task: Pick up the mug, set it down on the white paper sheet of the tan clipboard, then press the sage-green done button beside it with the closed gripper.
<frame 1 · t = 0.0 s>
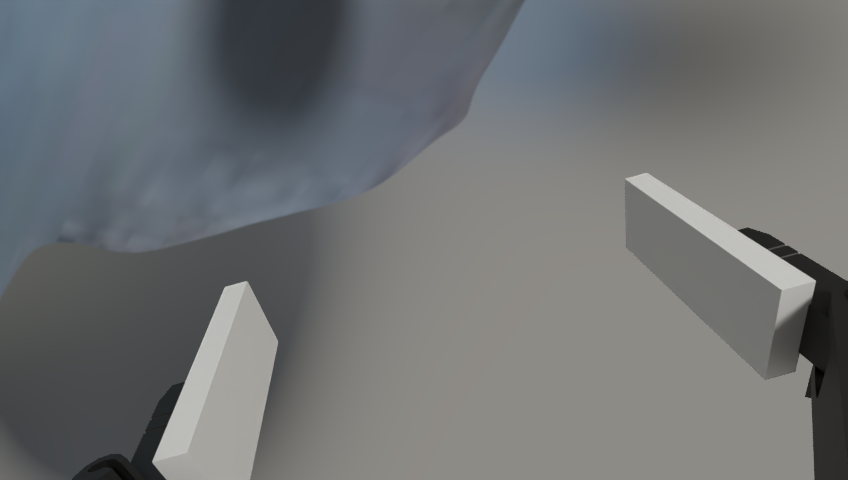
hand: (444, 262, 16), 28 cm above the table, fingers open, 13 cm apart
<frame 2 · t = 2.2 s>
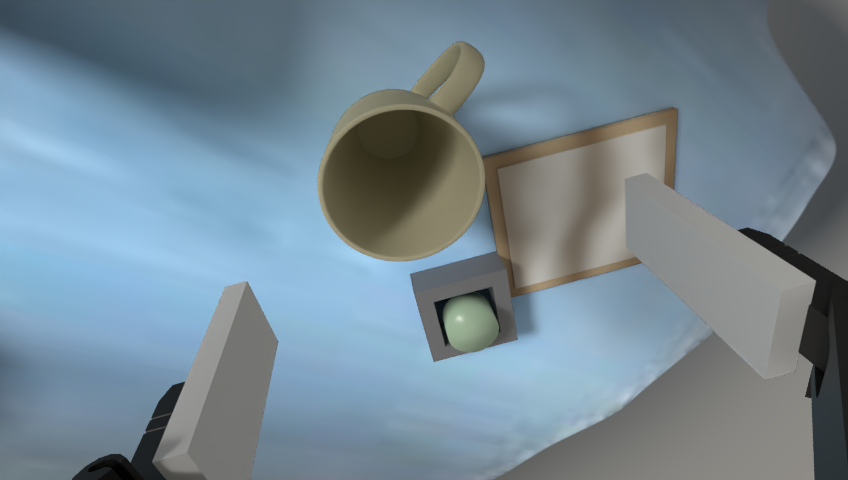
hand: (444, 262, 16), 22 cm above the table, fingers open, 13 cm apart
button housing: (461, 297, 44), on the table
done button: (469, 321, 41), point 4 cm above the table, slide at 0.0 cm
mug: (392, 114, 35), on the table
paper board: (581, 208, 41), on the table
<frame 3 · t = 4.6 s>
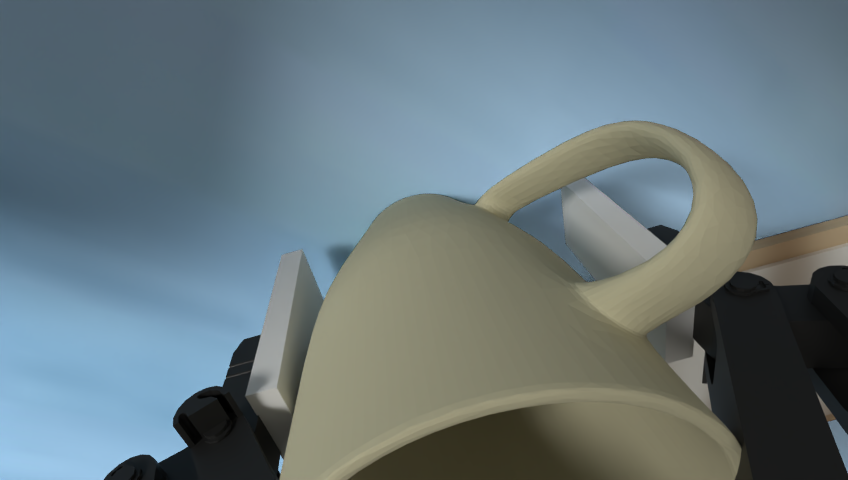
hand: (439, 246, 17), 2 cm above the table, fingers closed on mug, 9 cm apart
mug: (432, 223, 19), on the table, touching gripper
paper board: (742, 352, 25), on the table
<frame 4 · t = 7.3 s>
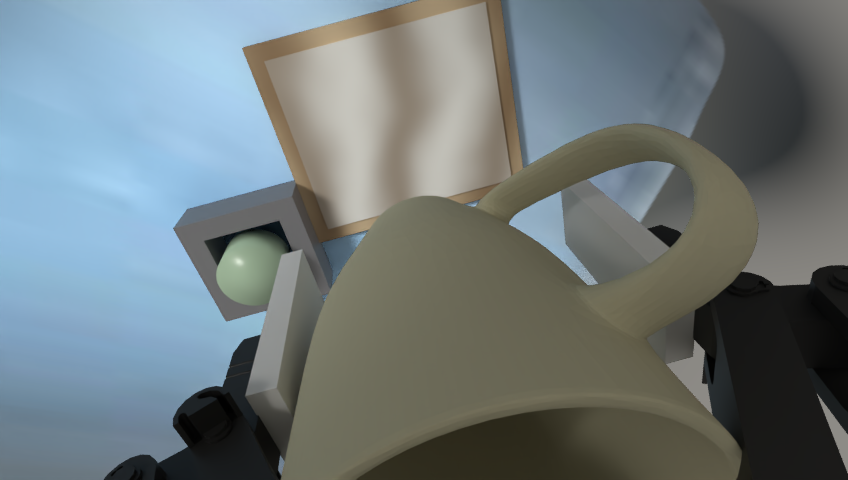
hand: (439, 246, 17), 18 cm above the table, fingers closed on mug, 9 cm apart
button housing: (264, 242, 35), on the table
done button: (255, 267, 32), point 4 cm above the table, slide at 0.0 cm
mug: (432, 225, 19), point 16 cm above the table, touching gripper
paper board: (398, 123, 32), on the table
when the fingers open (3 cm above the table, at t = 10.4 s): mug stays where it is, resting on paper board.
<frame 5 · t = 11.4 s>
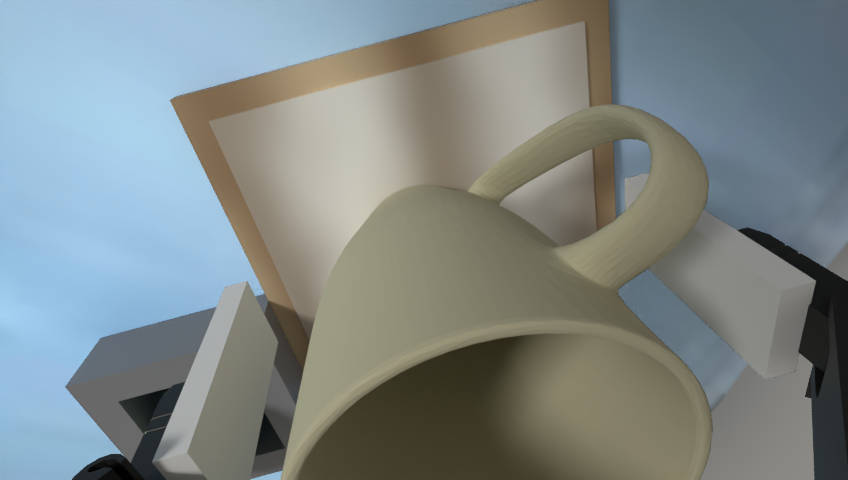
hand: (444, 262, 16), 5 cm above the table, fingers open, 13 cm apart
button housing: (223, 377, 23), on the table
done button: (202, 437, 20), point 4 cm above the table, slide at 0.0 cm
mug: (428, 213, 20), point 1 cm above the table, touching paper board
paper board: (430, 208, 21), on the table
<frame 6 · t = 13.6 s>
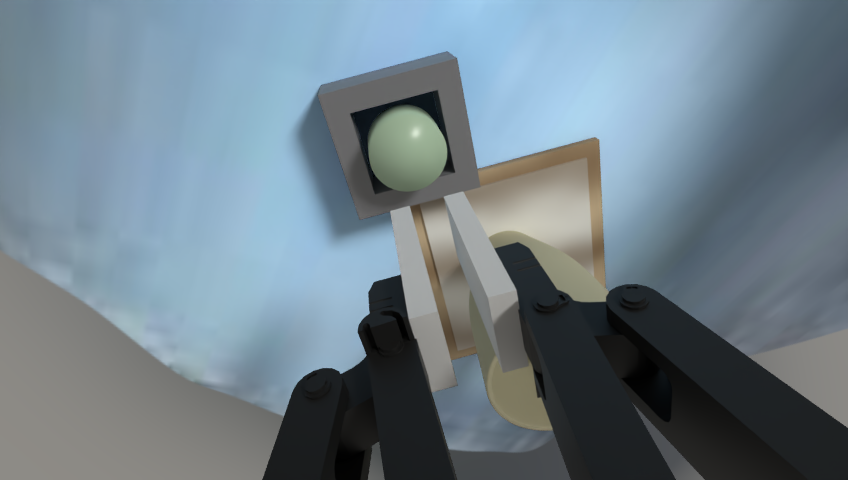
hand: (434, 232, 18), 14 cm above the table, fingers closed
button housing: (400, 130, 31), on the table
done button: (405, 147, 28), point 4 cm above the table, slide at 0.0 cm
mug: (516, 260, 36), point 1 cm above the table, touching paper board
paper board: (513, 258, 37), on the table
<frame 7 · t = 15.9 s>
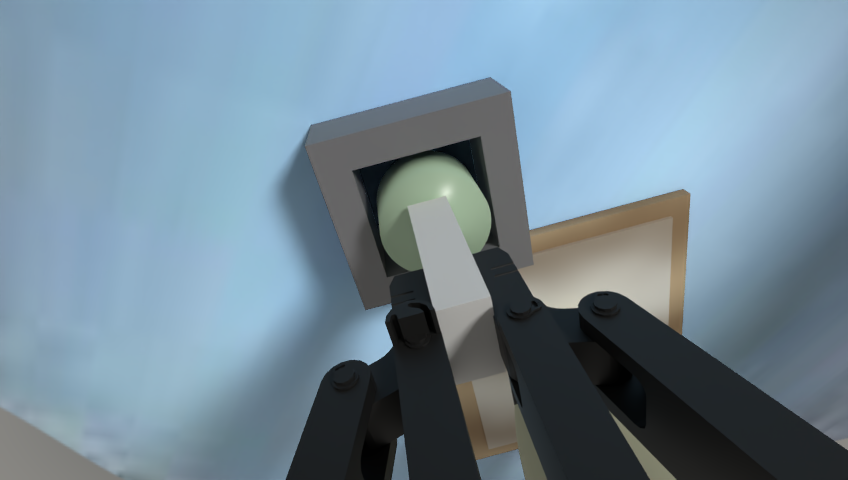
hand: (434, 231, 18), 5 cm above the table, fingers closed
button housing: (421, 184, 22), on the table
done button: (431, 212, 20), point 3 cm above the table, slide at 0.5 cm, touching gripper
mug: (569, 343, 28), point 1 cm above the table, touching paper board
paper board: (564, 339, 28), on the table
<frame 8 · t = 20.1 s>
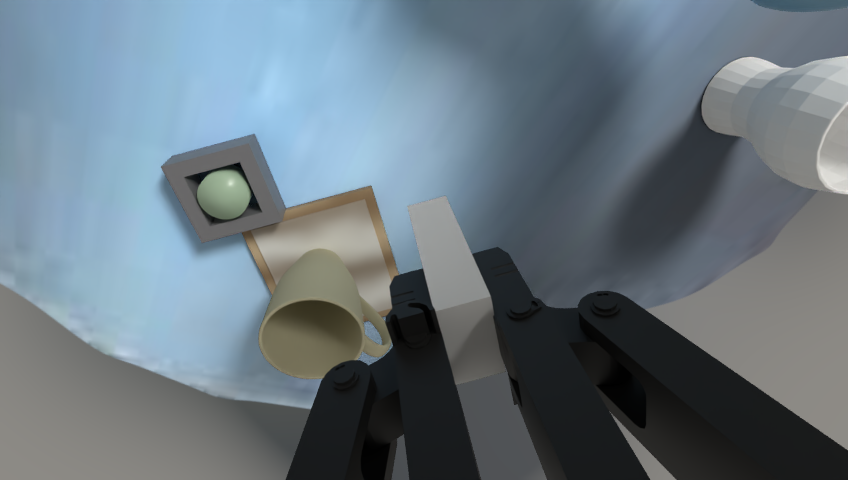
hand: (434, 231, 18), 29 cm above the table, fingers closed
button housing: (231, 183, 46), on the table
done button: (226, 191, 44), point 2 cm above the table, slide at 1.4 cm
mug: (330, 268, 51), point 1 cm above the table, touching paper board
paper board: (330, 267, 52), on the table
cup: (735, 95, 49), on the table
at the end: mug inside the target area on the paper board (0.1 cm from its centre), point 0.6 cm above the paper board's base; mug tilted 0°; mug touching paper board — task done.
